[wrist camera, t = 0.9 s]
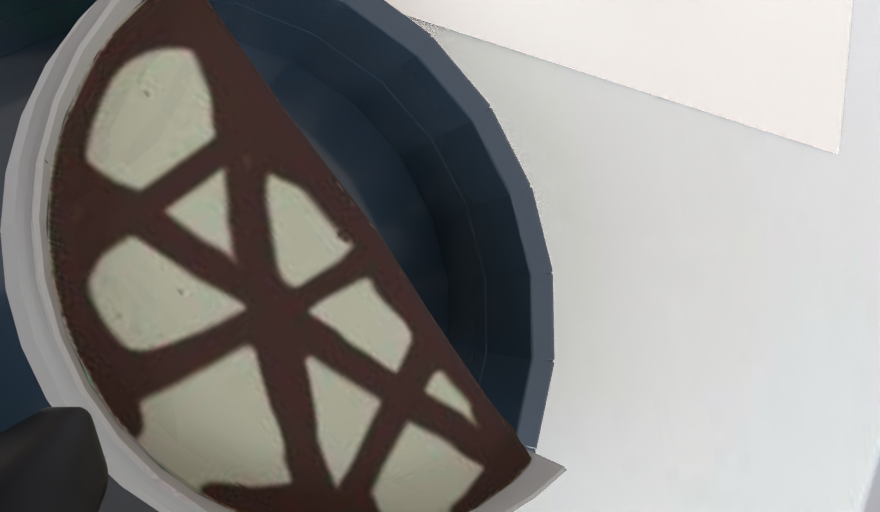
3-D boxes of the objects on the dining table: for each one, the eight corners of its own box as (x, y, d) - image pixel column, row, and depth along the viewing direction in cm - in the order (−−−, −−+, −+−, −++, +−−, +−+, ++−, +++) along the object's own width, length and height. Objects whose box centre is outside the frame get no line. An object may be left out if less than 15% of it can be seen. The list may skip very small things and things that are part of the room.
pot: (176, 778, 22) (205, 922, 17) (-424, 333, 17) (-629, 347, 12) (558, 311, 27) (666, 314, 22) (179, -117, 23) (207, -233, 18)
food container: (-86, 197, 20) (-230, 110, 10) (132, 68, 22) (170, -98, 13) (225, 567, 22) (328, 756, 13) (393, 418, 24) (581, 491, 15)
